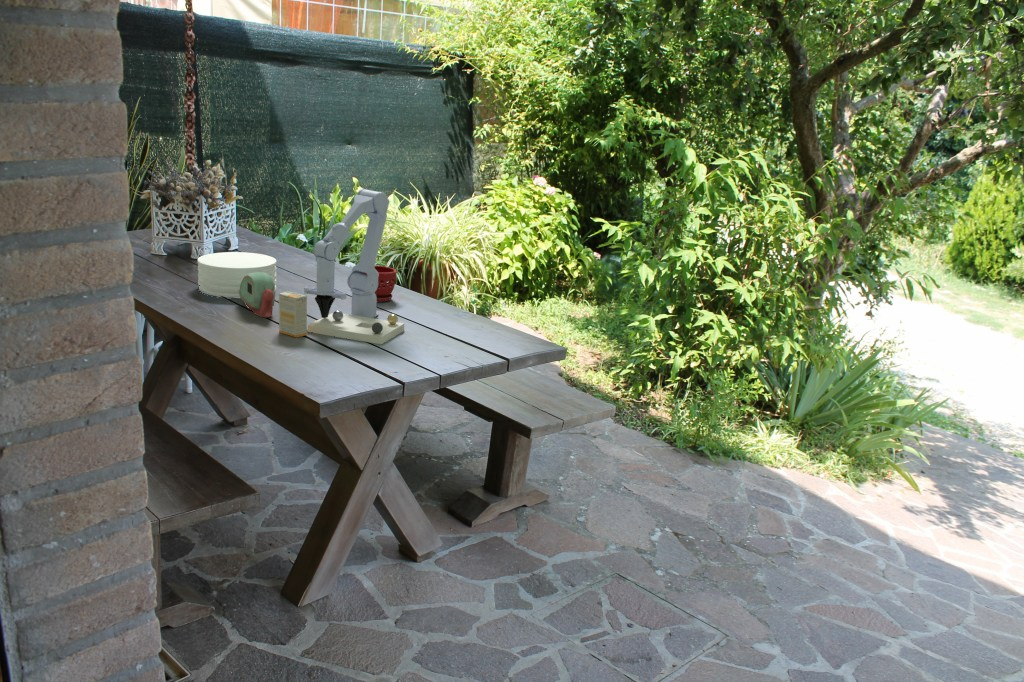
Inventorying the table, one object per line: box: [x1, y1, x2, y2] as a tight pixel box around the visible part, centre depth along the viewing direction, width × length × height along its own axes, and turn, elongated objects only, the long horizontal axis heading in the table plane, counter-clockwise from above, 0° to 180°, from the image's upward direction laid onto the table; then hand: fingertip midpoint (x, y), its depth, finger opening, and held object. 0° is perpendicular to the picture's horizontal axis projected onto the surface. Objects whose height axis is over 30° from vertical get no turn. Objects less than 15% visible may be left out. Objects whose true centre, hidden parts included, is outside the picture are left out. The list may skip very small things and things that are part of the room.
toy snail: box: [239, 272, 276, 318], centre depth 295 cm, size 25×8×14 cm, turn 33°
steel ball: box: [332, 310, 344, 321], centre depth 284 cm, size 4×4×4 cm
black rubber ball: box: [372, 322, 383, 333], centre depth 274 cm, size 4×4×4 cm
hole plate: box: [307, 311, 405, 345], centre depth 283 cm, size 18×26×2 cm
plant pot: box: [363, 265, 397, 303], centre depth 324 cm, size 13×13×12 cm
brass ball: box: [386, 313, 399, 324], centre depth 285 cm, size 4×4×4 cm
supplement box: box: [278, 291, 308, 338], centre depth 274 cm, size 8×5×13 cm, turn 55°
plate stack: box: [197, 251, 277, 297], centre depth 322 cm, size 28×28×12 cm
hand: (324, 317), depth 286 cm, fingers closed
